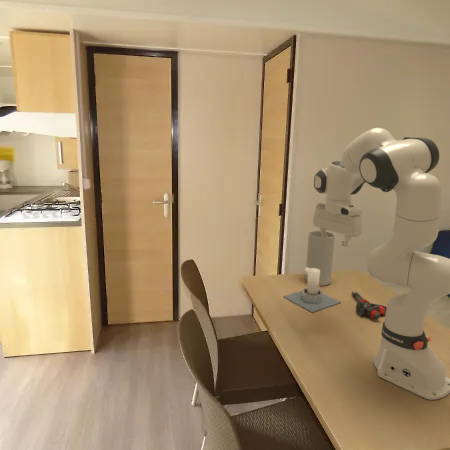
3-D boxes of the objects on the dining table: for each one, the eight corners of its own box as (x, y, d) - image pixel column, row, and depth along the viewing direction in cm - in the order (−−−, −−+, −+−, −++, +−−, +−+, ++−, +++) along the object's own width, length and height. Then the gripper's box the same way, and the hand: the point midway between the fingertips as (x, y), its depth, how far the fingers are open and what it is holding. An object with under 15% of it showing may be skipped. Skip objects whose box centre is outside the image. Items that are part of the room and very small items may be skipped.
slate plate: (340, 303, 163) (341, 302, 163) (312, 313, 153) (312, 311, 153) (311, 289, 178) (311, 288, 178) (283, 297, 168) (283, 296, 168)
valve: (398, 327, 147) (362, 322, 147) (372, 302, 173) (341, 297, 172) (402, 313, 146) (366, 307, 145) (376, 289, 171) (344, 284, 171)
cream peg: (319, 300, 164) (322, 271, 161) (309, 302, 162) (312, 272, 159) (309, 293, 172) (312, 264, 168) (300, 294, 170) (302, 265, 167)
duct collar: (326, 300, 164) (326, 293, 163) (311, 305, 159) (312, 297, 159) (311, 293, 171) (311, 286, 171) (297, 297, 167) (297, 290, 166)
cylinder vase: (335, 284, 183) (340, 236, 177) (313, 287, 179) (317, 238, 173) (321, 275, 195) (325, 230, 189) (300, 278, 191) (304, 231, 185)
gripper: (310, 202, 141) (308, 237, 144) (354, 212, 125) (350, 251, 128) (322, 201, 145) (319, 235, 148) (366, 210, 128) (362, 248, 131)
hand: (334, 242), depth 138 cm, fingers open, 8 cm apart
